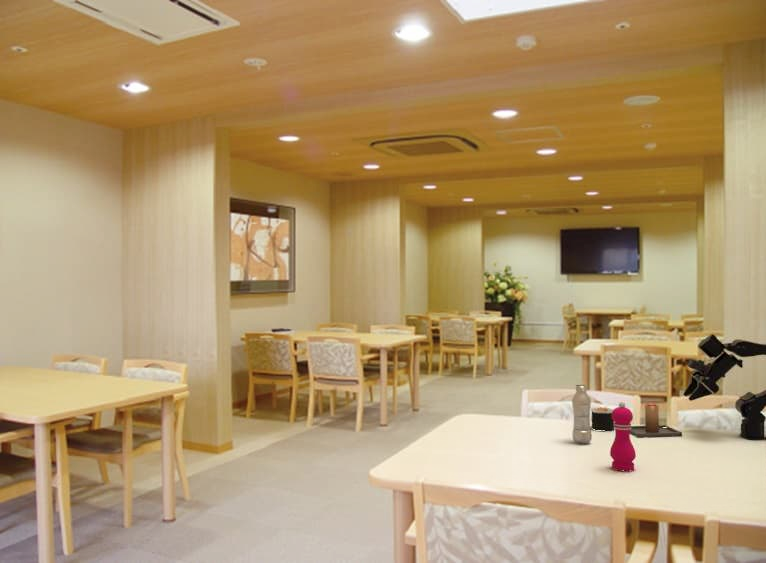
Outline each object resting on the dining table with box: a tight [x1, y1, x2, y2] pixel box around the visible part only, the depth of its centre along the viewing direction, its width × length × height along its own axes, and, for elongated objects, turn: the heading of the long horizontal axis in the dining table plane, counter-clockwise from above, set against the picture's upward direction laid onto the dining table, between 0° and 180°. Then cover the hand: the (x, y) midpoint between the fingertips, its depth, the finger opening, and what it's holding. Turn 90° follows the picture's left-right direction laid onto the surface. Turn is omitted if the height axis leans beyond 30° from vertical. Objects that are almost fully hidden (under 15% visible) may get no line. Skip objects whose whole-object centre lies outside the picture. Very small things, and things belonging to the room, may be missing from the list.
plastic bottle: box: [571, 384, 593, 444], centre depth 228 cm, size 6×7×20 cm
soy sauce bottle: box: [644, 402, 660, 433], centre depth 240 cm, size 5×5×10 cm
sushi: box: [590, 406, 615, 432], centre depth 247 cm, size 8×8×8 cm
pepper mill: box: [609, 401, 637, 472], centre depth 197 cm, size 7×7×20 cm
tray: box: [629, 424, 683, 439], centre depth 240 cm, size 16×12×1 cm
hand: (686, 397), depth 235 cm, fingers open, 9 cm apart
